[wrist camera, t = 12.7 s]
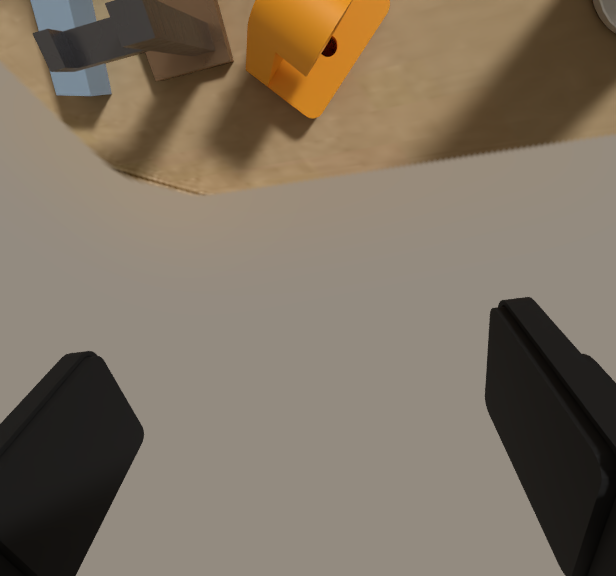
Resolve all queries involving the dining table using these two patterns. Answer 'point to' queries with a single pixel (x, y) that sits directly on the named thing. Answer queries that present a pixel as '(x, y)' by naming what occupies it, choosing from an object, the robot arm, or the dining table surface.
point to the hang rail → (63, 16)
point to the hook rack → (143, 38)
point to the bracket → (308, 46)
